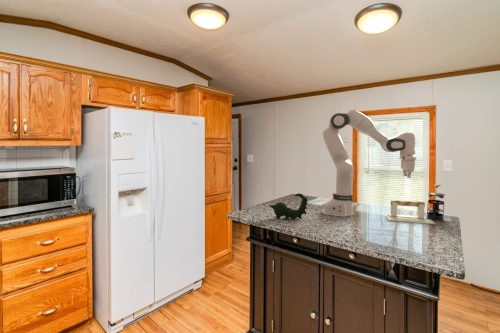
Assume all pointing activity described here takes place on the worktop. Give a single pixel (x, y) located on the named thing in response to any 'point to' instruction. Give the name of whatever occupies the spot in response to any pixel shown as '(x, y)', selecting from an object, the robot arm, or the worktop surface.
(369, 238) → the worktop surface
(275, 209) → the toy figurine
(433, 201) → the french press
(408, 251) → the worktop surface
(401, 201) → the rail
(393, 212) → the rack
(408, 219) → the mat
